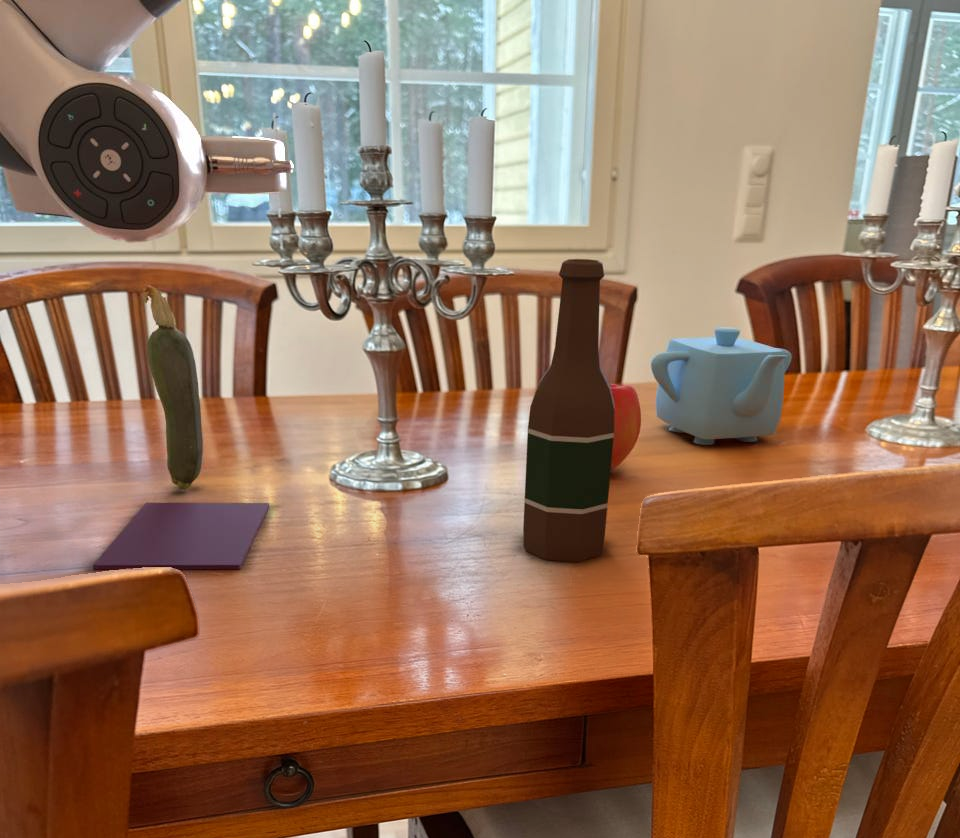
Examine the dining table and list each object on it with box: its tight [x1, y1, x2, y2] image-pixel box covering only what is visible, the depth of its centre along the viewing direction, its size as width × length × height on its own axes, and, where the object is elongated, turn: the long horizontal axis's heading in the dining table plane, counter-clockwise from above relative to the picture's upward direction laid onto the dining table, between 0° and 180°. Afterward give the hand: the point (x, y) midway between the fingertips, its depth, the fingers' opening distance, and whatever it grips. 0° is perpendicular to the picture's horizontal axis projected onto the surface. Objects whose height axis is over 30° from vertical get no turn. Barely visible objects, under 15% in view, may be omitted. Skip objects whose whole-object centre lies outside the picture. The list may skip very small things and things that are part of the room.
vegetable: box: [141, 285, 204, 491], centre depth 88 cm, size 4×4×20 cm
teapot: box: [650, 326, 793, 446], centre depth 115 cm, size 18×16×14 cm
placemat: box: [92, 502, 270, 570], centre depth 81 cm, size 12×16×1 cm
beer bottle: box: [522, 258, 614, 563], centre depth 75 cm, size 8×8×24 cm
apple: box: [609, 382, 642, 472], centre depth 100 cm, size 10×10×10 cm
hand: (157, 164), depth 73 cm, fingers open, 8 cm apart
